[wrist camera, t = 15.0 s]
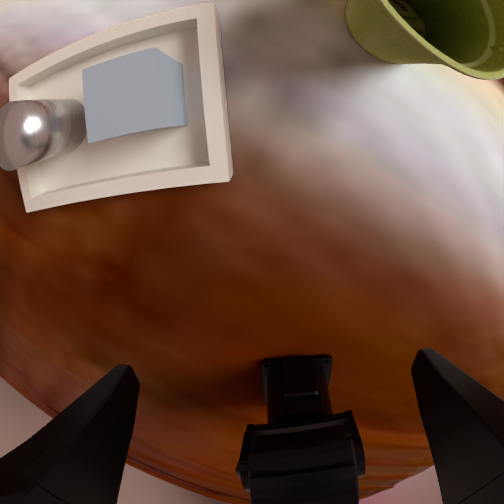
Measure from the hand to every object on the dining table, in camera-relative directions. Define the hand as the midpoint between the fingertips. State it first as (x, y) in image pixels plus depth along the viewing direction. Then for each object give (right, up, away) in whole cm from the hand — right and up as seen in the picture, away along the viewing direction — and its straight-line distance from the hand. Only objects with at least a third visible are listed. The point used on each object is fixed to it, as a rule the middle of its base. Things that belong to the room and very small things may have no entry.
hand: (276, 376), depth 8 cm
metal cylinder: (-14, +13, +8) cm, 20 cm away
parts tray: (-10, +13, +8) cm, 19 cm away
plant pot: (+8, +19, +5) cm, 21 cm away
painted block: (-7, +13, +7) cm, 16 cm away
